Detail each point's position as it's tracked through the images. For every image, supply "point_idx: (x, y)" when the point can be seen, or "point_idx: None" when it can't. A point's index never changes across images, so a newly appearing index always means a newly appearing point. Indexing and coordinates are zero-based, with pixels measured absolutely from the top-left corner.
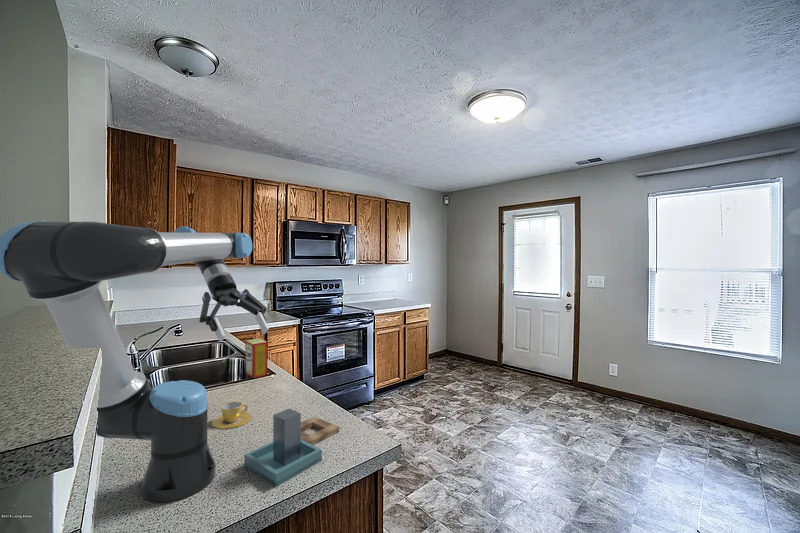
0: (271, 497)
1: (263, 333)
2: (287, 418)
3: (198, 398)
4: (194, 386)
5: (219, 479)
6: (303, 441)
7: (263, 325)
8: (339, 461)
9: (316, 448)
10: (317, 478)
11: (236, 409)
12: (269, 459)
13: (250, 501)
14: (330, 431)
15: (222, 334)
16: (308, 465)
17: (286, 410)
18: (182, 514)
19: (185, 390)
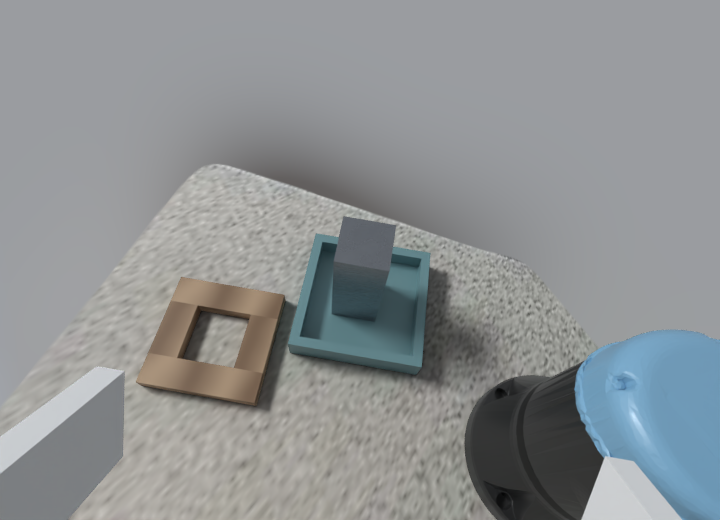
0: (447, 253)
1: (122, 452)
2: (385, 225)
3: (652, 331)
4: (671, 396)
5: (477, 381)
6: (305, 286)
7: (71, 444)
8: (302, 217)
9: (317, 244)
10: None
11: None
12: (379, 329)
13: (474, 275)
14: (212, 282)
15: (643, 476)
16: None
17: (348, 259)
18: (567, 347)
19: (711, 383)
